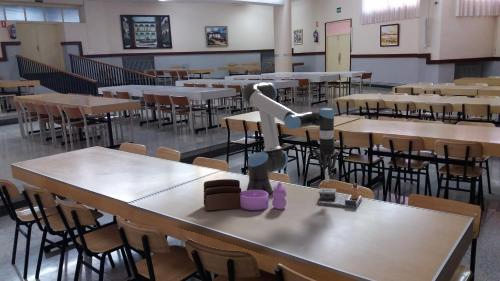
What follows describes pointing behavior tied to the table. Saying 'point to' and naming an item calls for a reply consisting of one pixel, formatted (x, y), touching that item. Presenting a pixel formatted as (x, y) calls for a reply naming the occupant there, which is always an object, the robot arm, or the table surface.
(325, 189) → the electrical switch
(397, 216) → the table surface
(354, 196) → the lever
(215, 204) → the letter holder
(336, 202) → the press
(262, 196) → the container set
